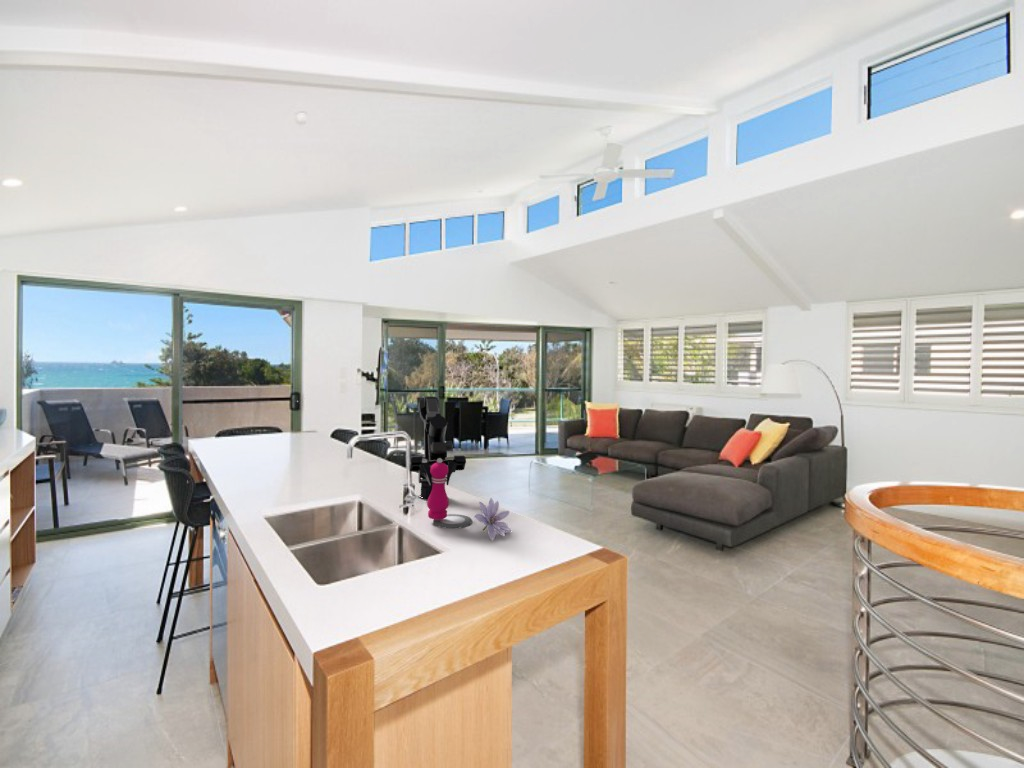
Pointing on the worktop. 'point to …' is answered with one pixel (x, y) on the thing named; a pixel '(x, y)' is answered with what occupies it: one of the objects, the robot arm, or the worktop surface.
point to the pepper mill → (438, 491)
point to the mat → (453, 521)
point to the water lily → (493, 518)
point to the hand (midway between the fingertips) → (439, 484)
